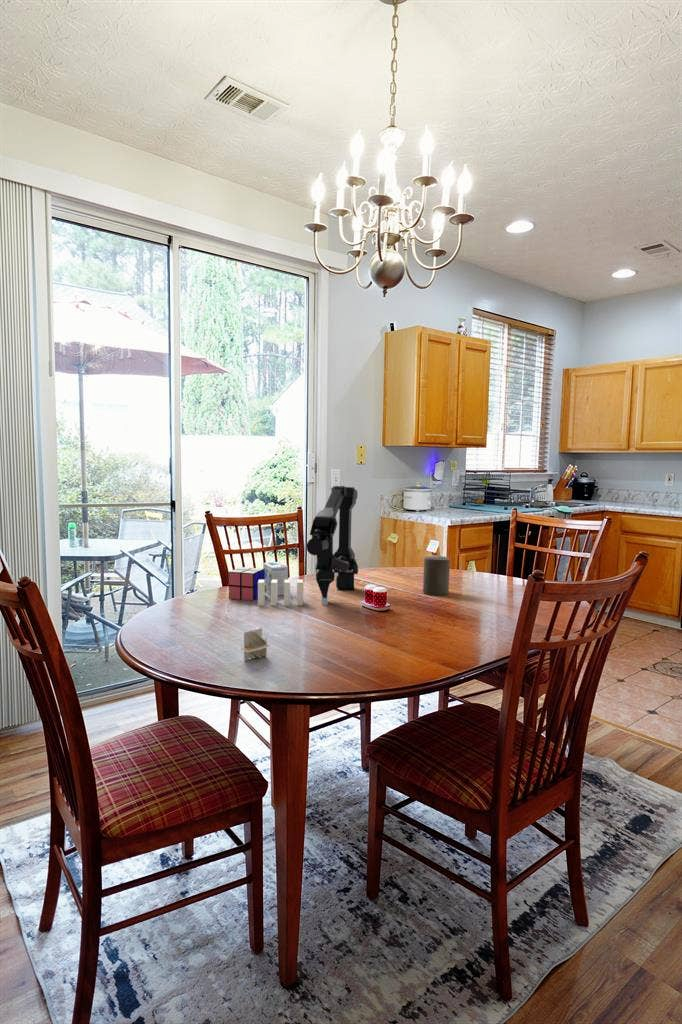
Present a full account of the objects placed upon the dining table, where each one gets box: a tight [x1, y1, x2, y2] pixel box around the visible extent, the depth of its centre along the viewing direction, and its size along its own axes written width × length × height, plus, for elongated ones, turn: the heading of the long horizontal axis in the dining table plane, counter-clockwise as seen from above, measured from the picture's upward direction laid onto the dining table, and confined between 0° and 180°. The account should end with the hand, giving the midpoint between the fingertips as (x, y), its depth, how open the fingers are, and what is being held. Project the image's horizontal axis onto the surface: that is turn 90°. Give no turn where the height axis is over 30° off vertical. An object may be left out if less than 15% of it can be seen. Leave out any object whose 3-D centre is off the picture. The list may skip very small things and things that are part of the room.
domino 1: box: [257, 580, 266, 606], centre depth 204 cm, size 2×5×8 cm, turn 3°
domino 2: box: [270, 580, 279, 606], centre depth 204 cm, size 2×5×8 cm, turn 3°
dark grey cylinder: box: [422, 554, 451, 597], centre depth 222 cm, size 10×10×15 cm
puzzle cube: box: [228, 566, 265, 602], centre depth 213 cm, size 10×10×10 cm
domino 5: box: [320, 592, 329, 606], centre depth 205 cm, size 2×5×8 cm, turn 3°
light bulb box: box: [262, 561, 289, 596], centre depth 220 cm, size 11×7×11 cm, turn 25°
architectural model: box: [240, 627, 271, 660], centre depth 147 cm, size 3×7×7 cm, turn 135°
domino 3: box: [283, 579, 291, 606], centre depth 204 cm, size 2×5×8 cm, turn 3°
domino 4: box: [296, 578, 304, 606], centre depth 204 cm, size 2×5×8 cm, turn 3°
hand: (324, 594), depth 205 cm, fingers open, 9 cm apart
